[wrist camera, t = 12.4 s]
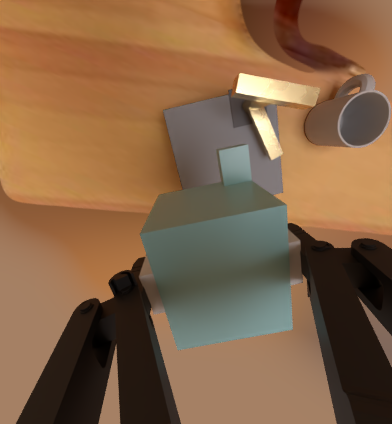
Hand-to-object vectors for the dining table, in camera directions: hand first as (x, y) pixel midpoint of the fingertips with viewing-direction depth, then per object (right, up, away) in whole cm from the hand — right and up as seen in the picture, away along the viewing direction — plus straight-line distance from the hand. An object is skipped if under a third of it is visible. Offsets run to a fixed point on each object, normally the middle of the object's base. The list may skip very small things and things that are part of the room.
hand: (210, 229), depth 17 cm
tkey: (+7, +14, +13) cm, 20 cm away
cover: (0, +1, 0) cm, 1 cm away
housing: (+3, +12, +20) cm, 24 cm away
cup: (+21, +18, +19) cm, 34 cm away
